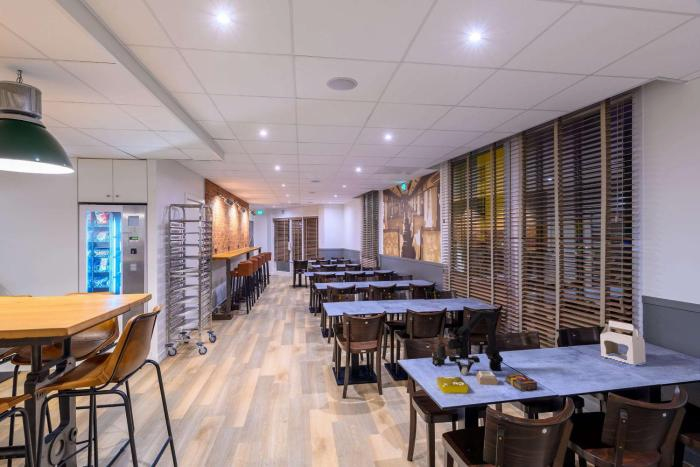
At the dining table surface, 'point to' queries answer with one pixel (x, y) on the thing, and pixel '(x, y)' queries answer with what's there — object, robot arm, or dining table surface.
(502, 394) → the dining table surface
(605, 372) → the dining table surface
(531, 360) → the dining table surface
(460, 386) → the element tile
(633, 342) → the gable box
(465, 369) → the lens
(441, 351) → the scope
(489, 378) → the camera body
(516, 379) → the decorative book
